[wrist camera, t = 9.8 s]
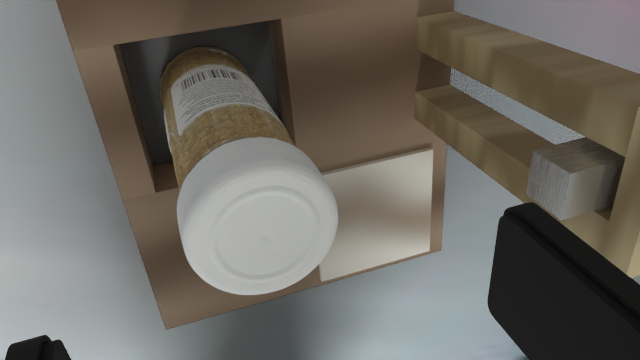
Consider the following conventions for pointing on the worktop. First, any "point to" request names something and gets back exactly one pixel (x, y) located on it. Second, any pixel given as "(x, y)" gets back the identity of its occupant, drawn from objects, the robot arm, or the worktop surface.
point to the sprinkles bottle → (241, 179)
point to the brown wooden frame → (363, 125)
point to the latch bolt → (574, 177)
